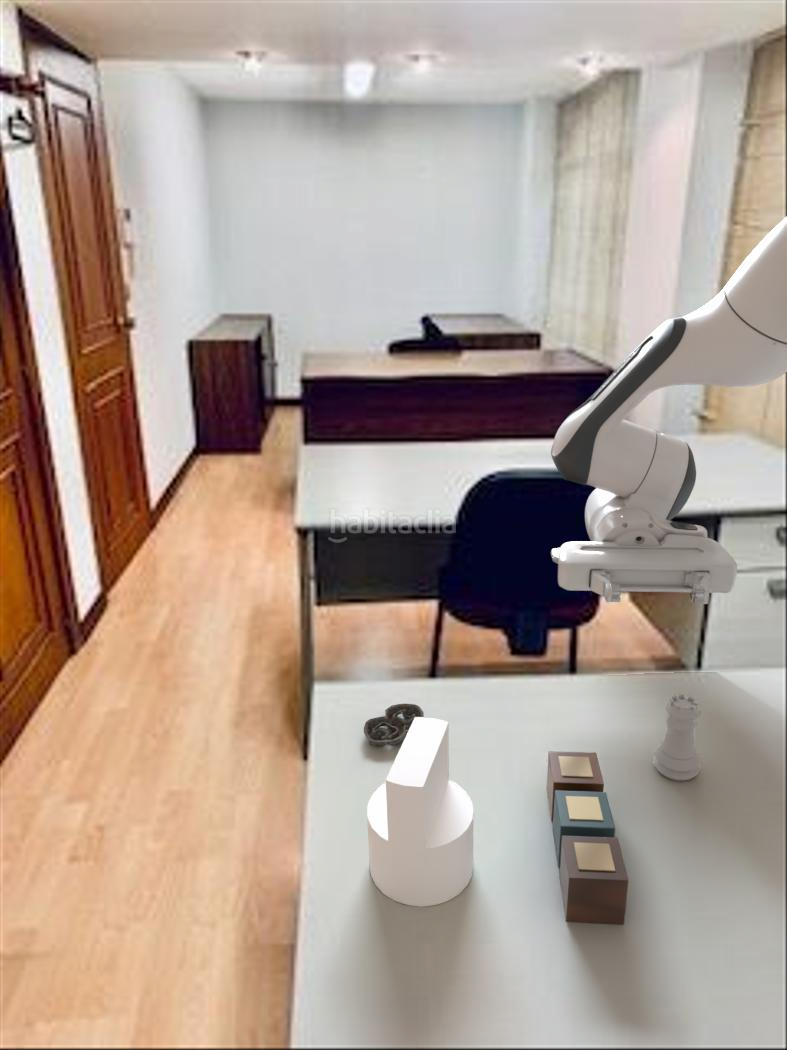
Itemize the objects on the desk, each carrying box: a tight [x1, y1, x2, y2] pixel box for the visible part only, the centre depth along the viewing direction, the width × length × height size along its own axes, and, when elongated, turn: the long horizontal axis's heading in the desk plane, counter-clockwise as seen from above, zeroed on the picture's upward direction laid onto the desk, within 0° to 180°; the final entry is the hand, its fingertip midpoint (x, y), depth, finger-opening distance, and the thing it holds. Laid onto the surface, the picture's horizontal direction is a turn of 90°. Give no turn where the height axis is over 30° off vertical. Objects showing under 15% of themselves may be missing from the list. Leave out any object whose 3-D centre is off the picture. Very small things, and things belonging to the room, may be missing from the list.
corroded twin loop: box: [363, 703, 425, 746], centre depth 84 cm, size 5×8×1 cm, turn 139°
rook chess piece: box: [652, 693, 702, 782], centre depth 75 cm, size 4×4×8 cm
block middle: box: [552, 790, 616, 869], centre depth 66 cm, size 4×4×5 cm
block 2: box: [559, 836, 629, 925], centre depth 61 cm, size 4×4×5 cm
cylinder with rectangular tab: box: [366, 716, 475, 908], centre depth 64 cm, size 9×9×12 cm
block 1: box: [546, 750, 605, 823], centre depth 71 cm, size 4×4×5 cm
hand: (657, 597), depth 83 cm, fingers open, 8 cm apart
